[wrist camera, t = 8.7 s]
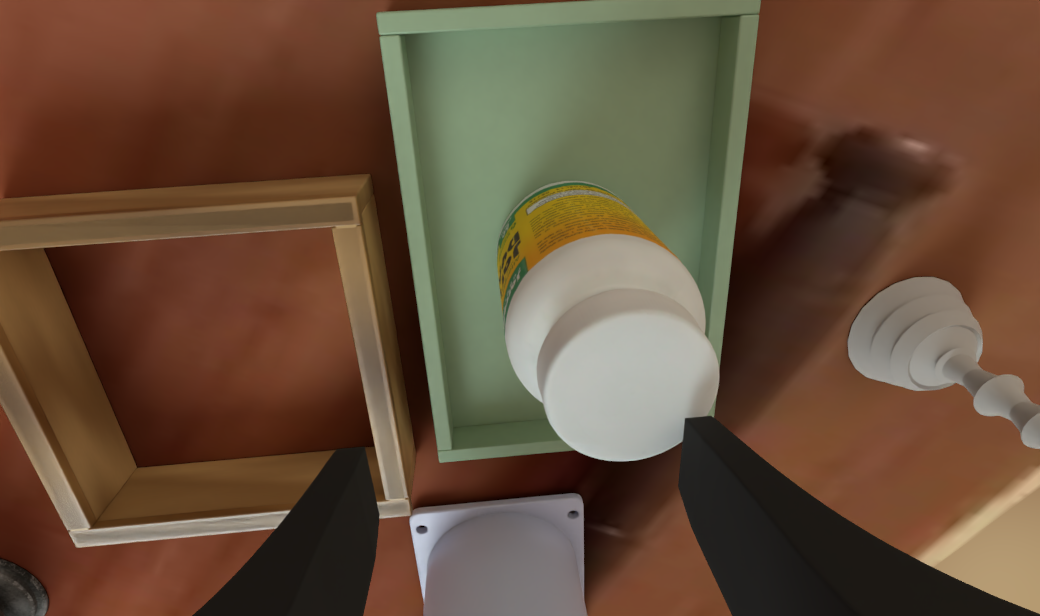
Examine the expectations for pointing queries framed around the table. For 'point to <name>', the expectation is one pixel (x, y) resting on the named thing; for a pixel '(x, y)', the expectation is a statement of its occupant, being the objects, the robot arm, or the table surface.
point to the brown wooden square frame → (83, 402)
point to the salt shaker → (20, 592)
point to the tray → (555, 166)
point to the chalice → (935, 350)
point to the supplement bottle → (603, 323)
